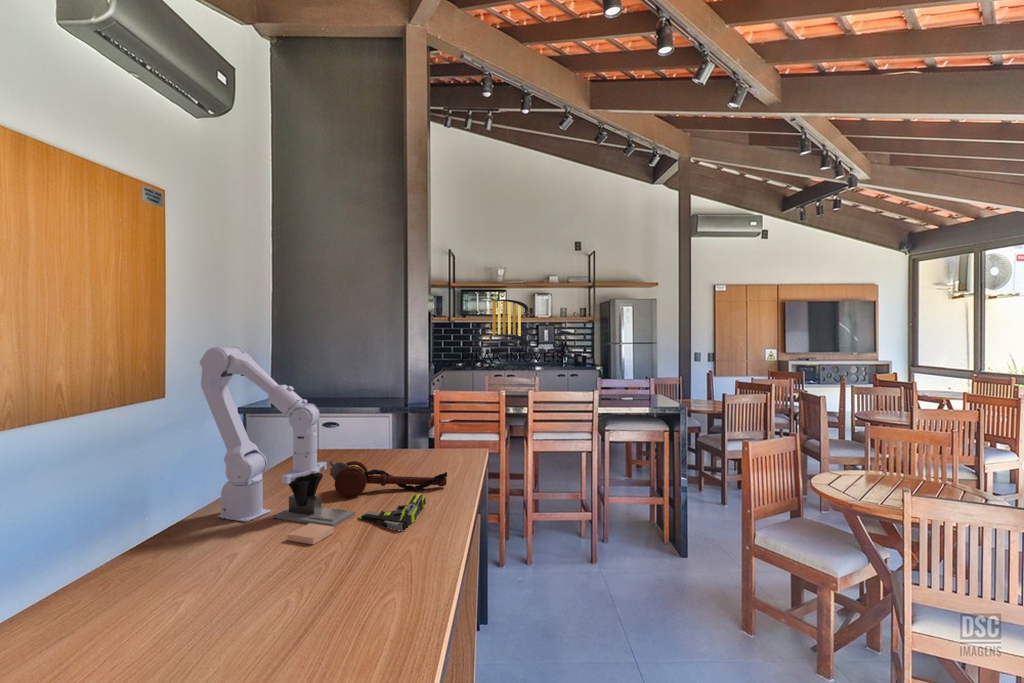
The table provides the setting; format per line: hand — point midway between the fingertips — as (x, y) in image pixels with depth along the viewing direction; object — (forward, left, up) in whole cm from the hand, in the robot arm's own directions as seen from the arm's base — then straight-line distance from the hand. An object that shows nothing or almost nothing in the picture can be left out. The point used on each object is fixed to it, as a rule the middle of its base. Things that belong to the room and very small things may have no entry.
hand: (305, 503), depth 129 cm
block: (+8, -11, -2) cm, 14 cm away
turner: (+3, 0, -2) cm, 4 cm away
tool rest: (+3, 0, -3) cm, 4 cm away
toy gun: (+21, +6, -4) cm, 23 cm away
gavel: (+10, +25, -3) cm, 27 cm away
